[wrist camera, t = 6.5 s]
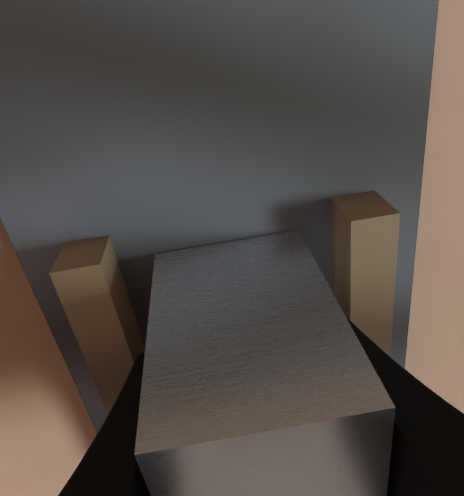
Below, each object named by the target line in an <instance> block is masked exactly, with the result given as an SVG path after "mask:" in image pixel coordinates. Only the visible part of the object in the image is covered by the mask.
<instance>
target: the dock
mask: <svg viewBox="0 0 464 496" xmlns="http://www.w3.org/2000/svg"><path fill="white" fill-rule="evenodd" d="M438 2H439V0H0V218H1V221H2V223H3V225H4V227H5V229H6V232H7V234H8V236H9V238H10V240H11V243H12V245H13V247H14V249H15V252H16V254H17V256H18V258H19V260H20V263H21V265H22V267H23V269H24V271H25V274H26V276H27V278H28V280H29V283H30V285H31V287H32V289H33V291H34V294H35V296H36V298H37V300H38V302H39V305H40V307H41V309H42V311H43V314H44V316H45V318H46V320H47V322H48V325H49V327H50V329H51V331H52V333H53V336H54V338H55V340H56V342H57V344H58V347H59V349H60V351H61V353H62V356H63V358H64V360H65V362H66V364H67V367H68V369H69V371H70V373H71V375H72V378H73V380H74V382H75V384H76V387H77V389H78V391H79V393H80V395H81V398H82V400H83V402H84V404H85V406H86V409H87V411H88V413H89V415H90V418H91V420H92V422H93V424H94V426H95V429H96V431H97V433H98V432H99V430H100V428H101V427H102V425H103V423H104V421H105V419H106V417H107V416H108V414H109V412H110V410H111V408H112V406H113V405H114V403H115V401H116V399H117V397H118V395H119V393H120V391H121V389H122V387H123V385H124V383H125V381H126V379H127V377H128V374H129V372H130V370H131V368H132V366H133V364H134V361H135V359H136V357H137V356H138V355H139V354H140V353H145V346H146V336H147V326H148V317H149V307H150V297H151V287H152V277H153V267H154V258H155V254H158V253H164V252H170V251H176V250H182V249H188V248H194V247H200V246H206V245H212V244H218V243H224V242H230V241H235V240H241V239H247V238H253V237H259V236H265V235H271V234H277V233H283V232H289V231H295V230H299V232H300V234H301V236H302V237H303V239H304V241H305V243H306V245H307V247H308V248H309V250H310V252H311V254H312V256H313V258H314V259H315V261H316V263H317V265H318V267H319V269H320V270H321V272H322V274H323V276H324V278H325V280H326V281H327V283H328V285H329V287H330V289H331V291H332V292H333V294H334V296H335V298H336V300H337V302H338V303H339V305H340V307H341V309H342V311H343V313H344V314H345V316H346V318H348V319H349V320H351V321H352V322H353V323H354V324H355V325H356V326H357V327H358V328H359V329H360V330H361V331H362V332H363V333H364V334H365V335H367V336H368V337H369V338H370V339H371V340H372V341H373V342H374V343H375V344H376V345H377V346H379V347H380V348H381V349H382V350H383V351H384V352H385V353H386V354H388V355H389V356H390V357H391V358H392V359H393V360H395V361H396V362H397V363H398V364H399V365H401V366H402V367H403V368H405V357H406V346H407V336H408V325H409V314H410V303H411V293H412V282H413V271H414V260H415V250H416V239H417V228H418V217H419V207H420V196H421V185H422V174H423V163H424V153H425V142H426V131H427V120H428V110H429V99H430V88H431V77H432V67H433V56H434V45H435V34H436V24H437V13H438Z"/></svg>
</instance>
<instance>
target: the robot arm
mask: <svg viewBox="0 0 464 496" xmlns="http://www.w3.org/2000/svg"><path fill="white" fill-rule="evenodd" d="M347 320H348V322H349V324H350V325H351V327H352V329H353V331H354V333H355V334H356V336H357V338H358V340H359V342H360V344H361V345H362V347H363V349H364V351H365V353H366V355H367V356H368V358H369V360H370V362H371V364H372V366H373V367H374V369H375V371H376V373H377V375H378V377H379V378H380V380H381V382H382V384H383V386H384V388H385V389H386V391H387V393H388V395H389V397H390V399H391V400H392V402H393V404H394V406H395V418H394V428H393V438H392V448H391V458H390V468H389V478H388V488H387V496H464V414H463V413H462V412H460V411H459V410H457V409H456V408H455V407H453V406H452V405H450V404H449V403H448V402H446V401H445V400H444V399H442V398H441V397H440V396H438V395H437V394H436V393H434V392H433V391H432V390H430V389H429V388H428V387H426V386H425V385H424V384H423V383H421V382H420V381H419V380H418V379H416V378H415V377H414V376H413V375H411V374H410V373H409V372H408V371H407V370H405V369H404V368H403V367H402V366H401V365H399V364H398V363H397V362H396V361H395V360H393V359H392V358H391V357H390V356H389V355H388V354H386V353H385V352H384V351H383V350H382V349H381V348H380V347H379V346H377V345H376V344H375V343H374V342H373V341H372V340H371V339H370V338H369V337H368V336H367V335H365V334H364V333H363V332H362V331H361V330H360V329H359V328H358V327H357V326H356V325H355V324H354V323H353V322H352V321H351V320H349V319H348V318H347ZM144 356H145V353H140V354H139V355H138V356H137V357H136V359H135V361H134V364H133V366H132V368H131V370H130V372H129V374H128V377H127V379H126V381H125V383H124V385H123V387H122V389H121V391H120V393H119V395H118V397H117V399H116V401H115V403H114V405H113V406H112V408H111V410H110V412H109V414H108V416H107V417H106V419H105V421H104V423H103V425H102V427H101V428H100V430H99V432H98V434H97V435H96V437H95V439H94V440H93V442H92V444H91V445H90V447H89V449H88V450H87V452H86V454H85V455H84V457H83V459H82V460H81V462H80V463H79V465H78V467H77V468H76V470H75V471H74V473H73V474H72V476H71V477H70V479H69V480H68V482H67V483H66V485H65V486H64V488H63V489H62V491H61V492H60V494H59V495H58V496H151V495H150V493H149V490H148V488H147V485H146V483H145V480H144V478H143V475H142V473H141V470H140V468H139V465H138V463H137V460H136V458H135V455H134V454H135V445H136V435H137V425H138V415H139V405H140V395H141V385H142V376H143V366H144Z"/></svg>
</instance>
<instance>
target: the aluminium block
mask: <svg viewBox="0 0 464 496" xmlns="http://www.w3.org/2000/svg"><path fill="white" fill-rule="evenodd" d="M394 418H395V406H394V404H393V402H392V400H391V399H390V397H389V395H388V393H387V391H386V389H385V388H384V386H383V384H382V382H381V380H380V378H379V377H378V375H377V373H376V371H375V369H374V367H373V366H372V364H371V362H370V360H369V358H368V356H367V355H366V353H365V351H364V349H363V347H362V345H361V344H360V342H359V340H358V338H357V336H356V334H355V333H354V331H353V329H352V327H351V325H350V324H349V322H348V320H347V318H346V316H345V314H344V313H343V311H342V309H341V307H340V305H339V303H338V302H337V300H336V298H335V296H334V294H333V292H332V291H331V289H330V287H329V285H328V283H327V281H326V280H325V278H324V276H323V274H322V272H321V270H320V269H319V267H318V265H317V263H316V261H315V259H314V258H313V256H312V254H311V252H310V250H309V248H308V247H307V245H306V243H305V241H304V239H303V237H302V236H301V234H300V232H299V230H295V231H289V232H283V233H277V234H271V235H265V236H259V237H253V238H247V239H241V240H235V241H230V242H224V243H218V244H212V245H206V246H200V247H194V248H188V249H182V250H176V251H170V252H164V253H158V254H155V258H154V267H153V277H152V287H151V297H150V307H149V317H148V326H147V336H146V346H145V356H144V366H143V376H142V385H141V395H140V405H139V415H138V425H137V435H136V445H135V454H134V455H135V458H136V460H137V463H138V465H139V468H140V470H141V473H142V475H143V478H144V480H145V483H146V485H147V488H148V490H149V493H150V495H151V496H387V488H388V478H389V468H390V458H391V448H392V438H393V428H394Z"/></svg>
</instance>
